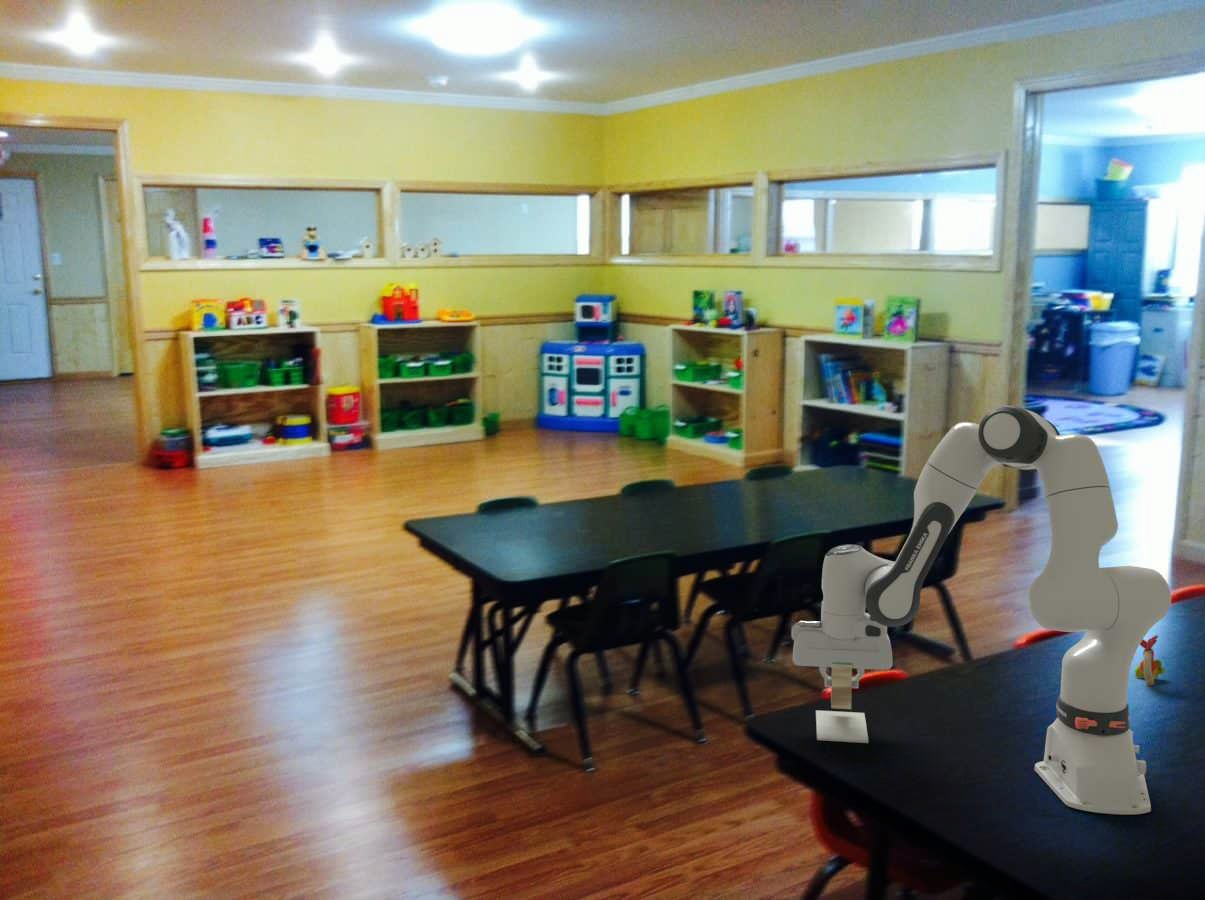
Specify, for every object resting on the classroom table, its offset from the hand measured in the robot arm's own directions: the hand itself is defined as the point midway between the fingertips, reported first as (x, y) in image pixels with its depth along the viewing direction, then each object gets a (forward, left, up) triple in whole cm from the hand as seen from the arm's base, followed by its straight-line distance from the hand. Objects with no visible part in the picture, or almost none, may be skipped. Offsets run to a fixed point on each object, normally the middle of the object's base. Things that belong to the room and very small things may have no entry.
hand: (841, 686), depth 227 cm
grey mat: (-5, 0, -7) cm, 8 cm away
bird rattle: (+30, -69, -7) cm, 75 cm away
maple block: (0, 0, -4) cm, 4 cm away
